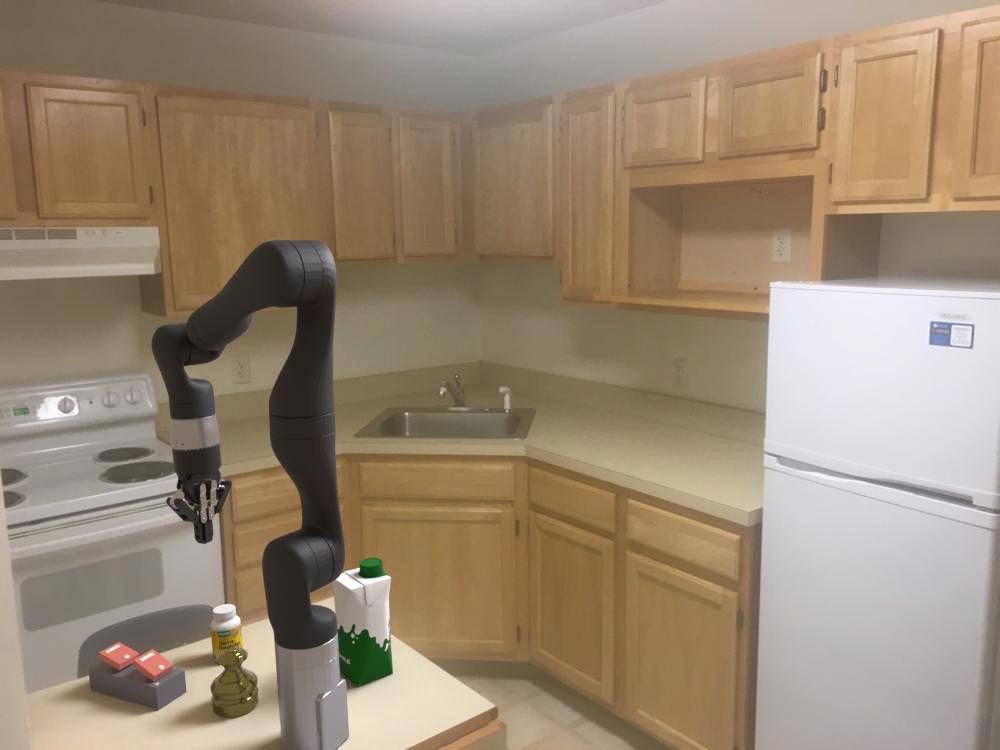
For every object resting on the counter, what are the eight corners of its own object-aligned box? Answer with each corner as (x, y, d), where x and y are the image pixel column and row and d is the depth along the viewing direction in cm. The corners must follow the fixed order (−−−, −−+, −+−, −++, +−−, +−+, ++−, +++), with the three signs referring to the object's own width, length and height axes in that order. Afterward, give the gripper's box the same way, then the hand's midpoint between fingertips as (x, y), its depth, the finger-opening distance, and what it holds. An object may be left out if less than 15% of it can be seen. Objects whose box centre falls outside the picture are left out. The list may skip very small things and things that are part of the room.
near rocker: (171, 673, 134) (173, 664, 134) (152, 685, 131) (154, 675, 130) (150, 657, 136) (153, 648, 135) (131, 668, 132) (133, 659, 132)
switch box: (186, 691, 135) (184, 669, 134) (158, 710, 130) (156, 687, 129) (120, 673, 142) (117, 652, 141) (90, 690, 136) (88, 668, 136)
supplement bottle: (239, 647, 150) (235, 599, 149) (247, 658, 146) (243, 609, 144) (209, 655, 147) (205, 607, 146) (217, 667, 143) (213, 617, 141)
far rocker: (138, 662, 138) (139, 652, 137) (118, 674, 134) (119, 663, 133) (118, 651, 139) (118, 641, 139) (98, 661, 136) (99, 651, 135)
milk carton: (400, 674, 139) (395, 566, 136) (353, 692, 134) (347, 579, 131) (376, 654, 146) (371, 551, 143) (331, 671, 141) (324, 564, 138)
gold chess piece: (268, 697, 133) (264, 642, 131) (240, 722, 126) (235, 664, 124) (232, 690, 135) (228, 635, 134) (202, 714, 128) (197, 657, 127)
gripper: (182, 453, 124) (192, 558, 126) (241, 435, 136) (249, 531, 138) (147, 450, 127) (157, 553, 130) (207, 432, 139) (216, 527, 141)
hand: (204, 542), depth 134 cm, fingers closed
